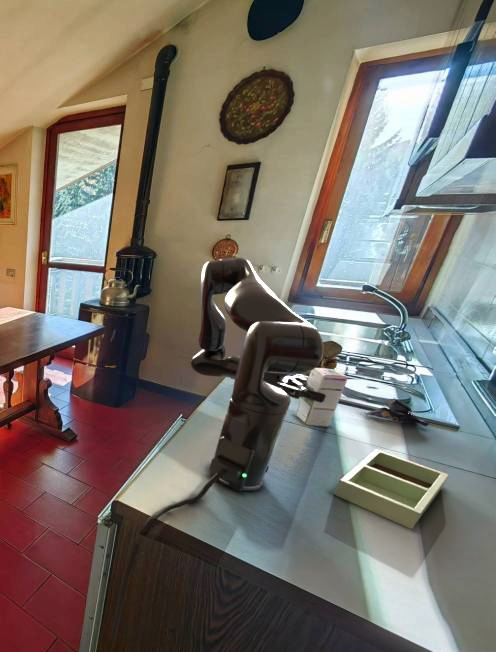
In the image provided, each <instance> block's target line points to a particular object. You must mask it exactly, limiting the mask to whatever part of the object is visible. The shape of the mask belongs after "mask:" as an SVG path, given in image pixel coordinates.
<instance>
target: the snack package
mask: <svg viewBox="0 0 496 652" xmlns="http://www.w3.org/2000/svg"><path fill="white" fill-rule="evenodd" d="M384 404H385V406H384V407H380V408H377V409H375V410H370V411H368V412H365V411H364V415H365V417H368V416H373V417H377V418H381V419H385V420H389V421H393V422H398V423H407V424H408V423H411V424H412V423H413V424H415V425H417V424H419V425H422V426H423V427H428V426H429V422H427V421H425V420H422V419H419V418H418V417H417V416H416V415H415V414H413V413H412V412H413V411H412V408H411V407H410V406H409V405H408V404H406V403H404V402H402V401H401V400H399V399H397V398H396V397H394V398H391V399H389V400H387V401H386V402H385V403H384ZM386 406H387V407H386ZM408 413H409V414H408ZM411 414H412V415H411ZM413 415H414V416H413Z"/></svg>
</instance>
